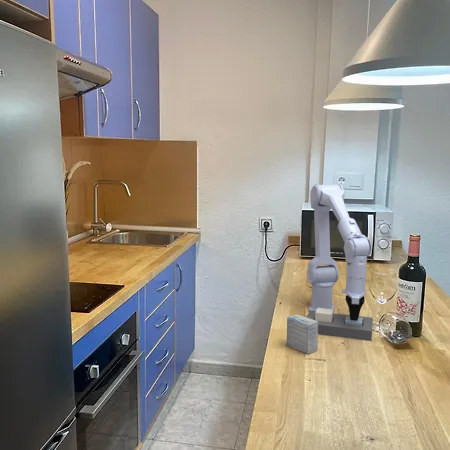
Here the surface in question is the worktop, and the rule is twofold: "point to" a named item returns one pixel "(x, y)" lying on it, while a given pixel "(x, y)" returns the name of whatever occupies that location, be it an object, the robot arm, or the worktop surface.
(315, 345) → the medicine box
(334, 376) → the worktop surface
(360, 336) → the grey flat rectangular block
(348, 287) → the robot arm
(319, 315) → the cream key
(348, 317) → the blue key
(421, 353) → the worktop surface
